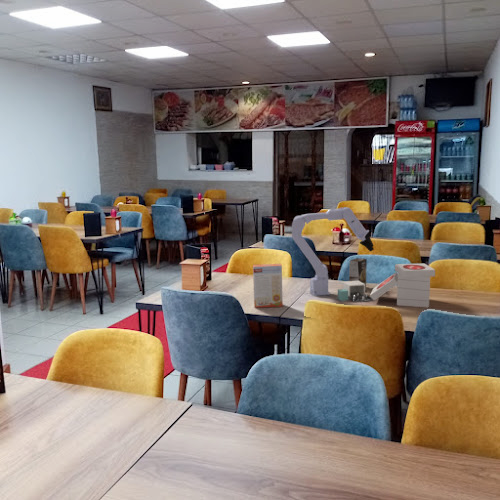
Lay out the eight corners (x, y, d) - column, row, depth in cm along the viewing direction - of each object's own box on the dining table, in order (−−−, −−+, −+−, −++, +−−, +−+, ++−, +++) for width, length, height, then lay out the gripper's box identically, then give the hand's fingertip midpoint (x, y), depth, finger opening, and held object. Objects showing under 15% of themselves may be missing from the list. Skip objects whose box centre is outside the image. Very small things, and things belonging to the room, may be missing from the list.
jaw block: (340, 300, 264) (340, 291, 263) (337, 298, 268) (337, 289, 267) (348, 300, 265) (348, 290, 264) (345, 298, 269) (345, 288, 268)
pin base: (354, 302, 261) (354, 297, 260) (341, 293, 277) (341, 289, 277) (373, 300, 263) (373, 296, 262) (359, 292, 279) (359, 287, 279)
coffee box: (359, 290, 282) (359, 261, 279) (348, 289, 286) (349, 260, 283) (366, 287, 290) (367, 258, 287) (356, 285, 293) (356, 257, 290)
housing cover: (349, 297, 269) (349, 285, 268) (342, 292, 277) (342, 281, 276) (364, 295, 270) (365, 284, 269) (358, 291, 279) (358, 280, 278)
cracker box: (281, 303, 261) (281, 263, 258) (282, 307, 255) (282, 265, 252) (253, 304, 261) (252, 263, 257) (254, 308, 255) (253, 266, 251)
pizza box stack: (373, 294, 274) (374, 261, 271) (433, 298, 264) (435, 263, 261) (369, 304, 256) (369, 268, 253) (433, 309, 246) (435, 272, 243)
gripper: (363, 226, 262) (378, 247, 263) (363, 220, 276) (378, 241, 277) (351, 233, 264) (367, 255, 265) (352, 227, 278) (366, 248, 279)
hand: (371, 248), depth 271 cm, fingers open, 7 cm apart
